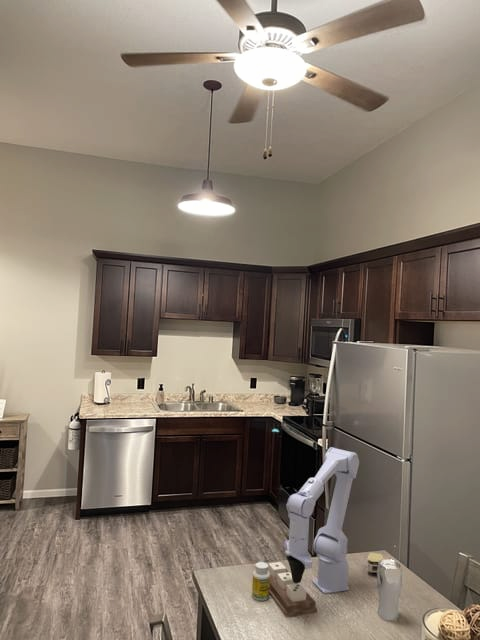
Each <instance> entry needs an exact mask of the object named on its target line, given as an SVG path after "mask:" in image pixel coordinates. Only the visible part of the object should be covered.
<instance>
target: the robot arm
mask: <svg viewBox="0 0 480 640" xmlns="http://www.w3.org/2000/svg"><path fill="white" fill-rule="evenodd" d="M359 465H360V460H359V456H358V454H357V452H354V451H348V450H344V449H340V448H337V447H334V446H333V447H332V446H331V447H329V448H328V449H327V451H326V452H325V454H324V461H323V463H322V465H321V466H320V468H319V470H318V471H317V473H316V474H315V476H314V477H309V478H308V479H307V481H306V482H305V483H304V484H303V485H302V487H301V488H300V489H299V490H298V492H296V493H292V494H291V495H290V496H289V497H288V499H287V503H286V505H285V507H286V510H287V513H288V519H289V532H288V533H289V535H288V540H284V548H285V551H284V553H285V554H286V559H287V562H288V566H289V569H290V573H291V574H292V580H293V582H294V583H300V584H301V582H302V579H303V576H304V573H305V570H309V569H313V563H314V561H313V560H312V558H311V556H310V553H309V530H310V529H309V527H310V517H311V516H312V515H313V512H314V510H315V506H316V502H317V500H318V499H319V498H320V497H321V495H322V494H323V492H324V491H325V487H324V486H325V484H326V482H328V481H329V479H330V478H331V477H332V476H333V475H335V477H336V481H335V486H334V490H333V495H332V499H331V503H330V508H329V511H328V516H327V520H326V525H324V526H322V527H320V528H319V529H318V530H317V534H316V536H315V538H314V540H313V544H312V545H313V551H314V552H315V553H316V557H318V561H317V562H318V563H317V564H318V565H317V578H316V579H312V580H311V581H312V583H313V584H314V585H315V586H316V587H317V588H318V589H319V591H321V592H322V593H323V594H330V593H337V592H342V591H343V592H344V591H350V587H349V571H350V570H349V564H348V561H347V559H346V557H347V555H348V542H349V541H348V540H349V539H348V538H347V536H346V535H345V533H344V531H343V524H344V520H345V516H346V511H347V506H348V502H349V499H350V495H351V494H350V493H351V489H352V485H353V480H354V479H356V478H357V474H358V469H359Z"/></svg>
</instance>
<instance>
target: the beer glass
mask: <svg viewBox="0 0 480 640" xmlns="http://www.w3.org/2000/svg"><path fill="white" fill-rule="evenodd" d="M402 567H403V566H402V564H401V563H400V562H399V561H397V560H394V559H391V558H384V559H381V560H379V565H378V575H377V574H376V578H377V581H376V583H377V589H378V596H379V597H378V598H379V603H378V608H377V615H378V617H379V618H380V617H381V618H380V619H383V620H384V619H385V620H384V621H386V620H388V622H392V621H393V622H396V621H395V620H397V621H398V620H399V619H400V613H399V612H400V611H399V602H400V601H399V600H400V596H401V591H402V586H403V585H402V584H403V569H402Z"/></svg>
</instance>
